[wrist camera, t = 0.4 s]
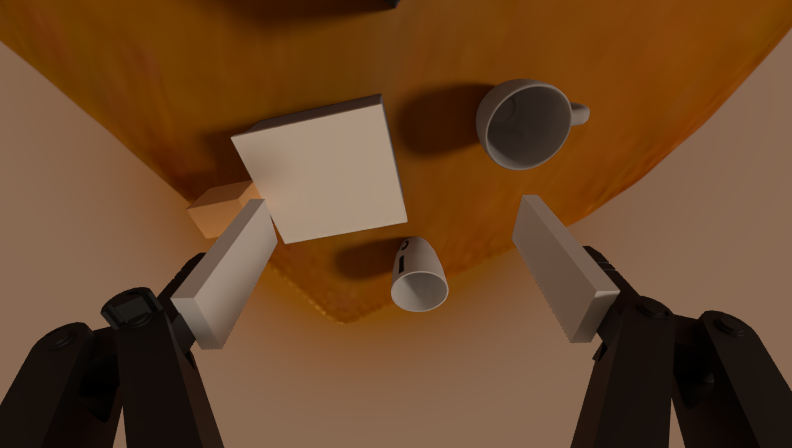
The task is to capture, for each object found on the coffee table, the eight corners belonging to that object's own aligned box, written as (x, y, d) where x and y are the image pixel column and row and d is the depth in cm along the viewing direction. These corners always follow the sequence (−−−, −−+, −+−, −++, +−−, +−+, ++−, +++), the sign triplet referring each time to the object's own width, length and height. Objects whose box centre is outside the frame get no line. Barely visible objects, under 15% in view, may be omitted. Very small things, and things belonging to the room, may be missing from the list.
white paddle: (183, 146, 33) (154, 163, 29) (381, 102, 31) (380, 114, 27) (245, 247, 41) (229, 272, 37) (407, 218, 39) (409, 241, 35)
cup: (398, 224, 48) (400, 265, 40) (446, 235, 49) (457, 277, 41) (385, 261, 52) (384, 306, 44) (429, 270, 53) (436, 316, 45)
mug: (465, 147, 41) (483, 176, 33) (464, 76, 36) (485, 90, 28) (554, 134, 40) (595, 161, 32) (566, 61, 35) (617, 71, 27)
